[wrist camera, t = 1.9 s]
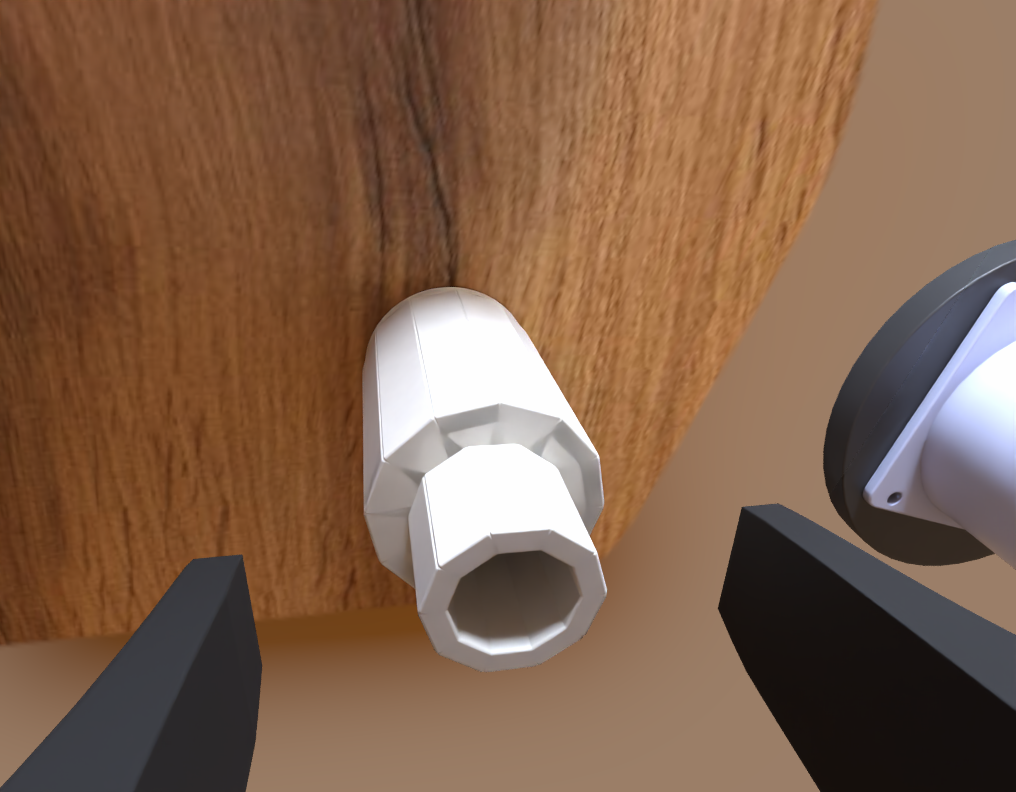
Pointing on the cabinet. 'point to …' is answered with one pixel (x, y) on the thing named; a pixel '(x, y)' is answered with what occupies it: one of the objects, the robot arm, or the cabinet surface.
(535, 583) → the bottle
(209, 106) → the cabinet surface
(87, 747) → the robot arm
